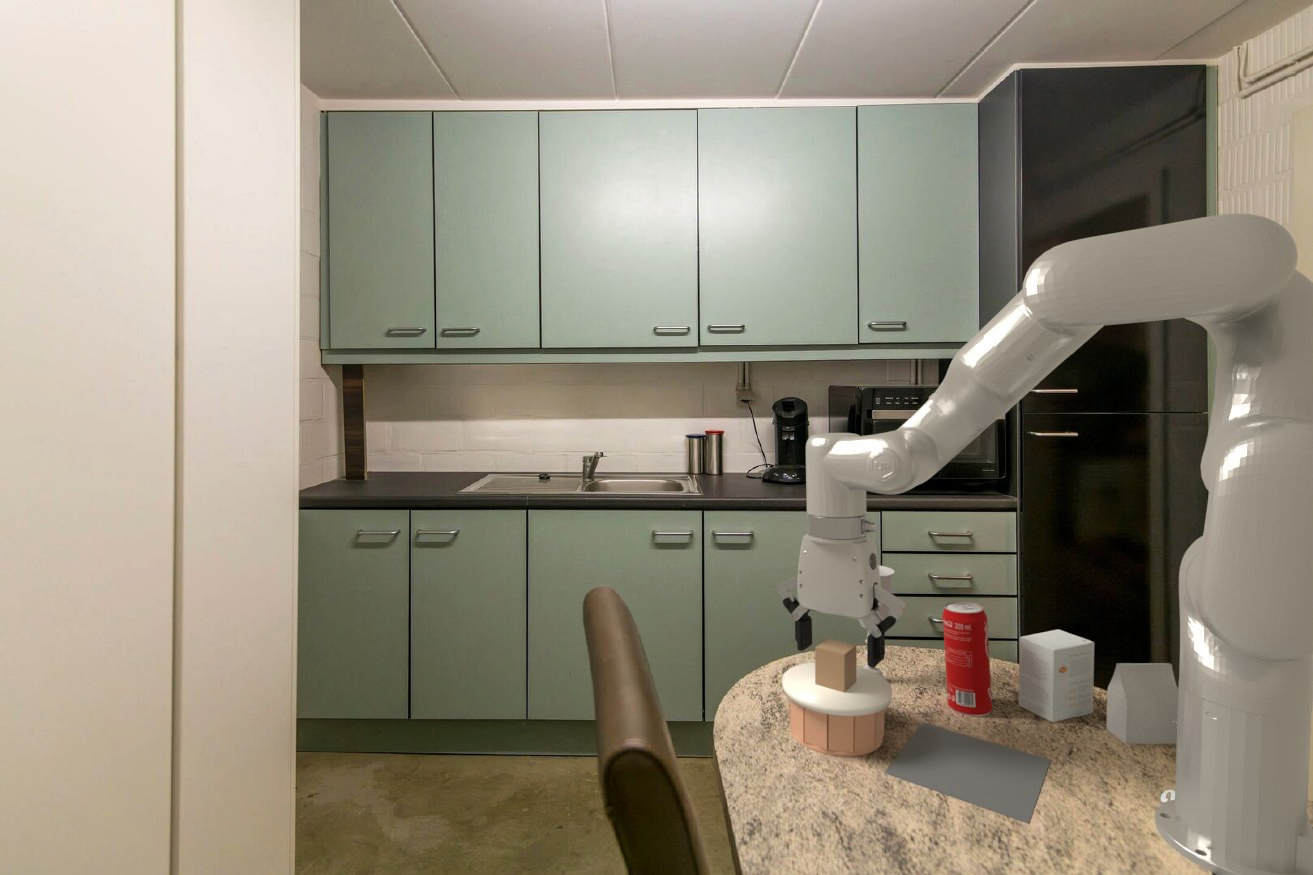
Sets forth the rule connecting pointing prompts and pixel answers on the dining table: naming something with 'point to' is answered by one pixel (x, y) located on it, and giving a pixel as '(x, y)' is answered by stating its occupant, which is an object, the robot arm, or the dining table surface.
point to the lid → (837, 683)
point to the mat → (972, 770)
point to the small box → (1056, 675)
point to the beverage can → (967, 659)
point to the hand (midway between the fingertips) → (838, 655)
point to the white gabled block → (1143, 703)
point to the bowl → (836, 731)
